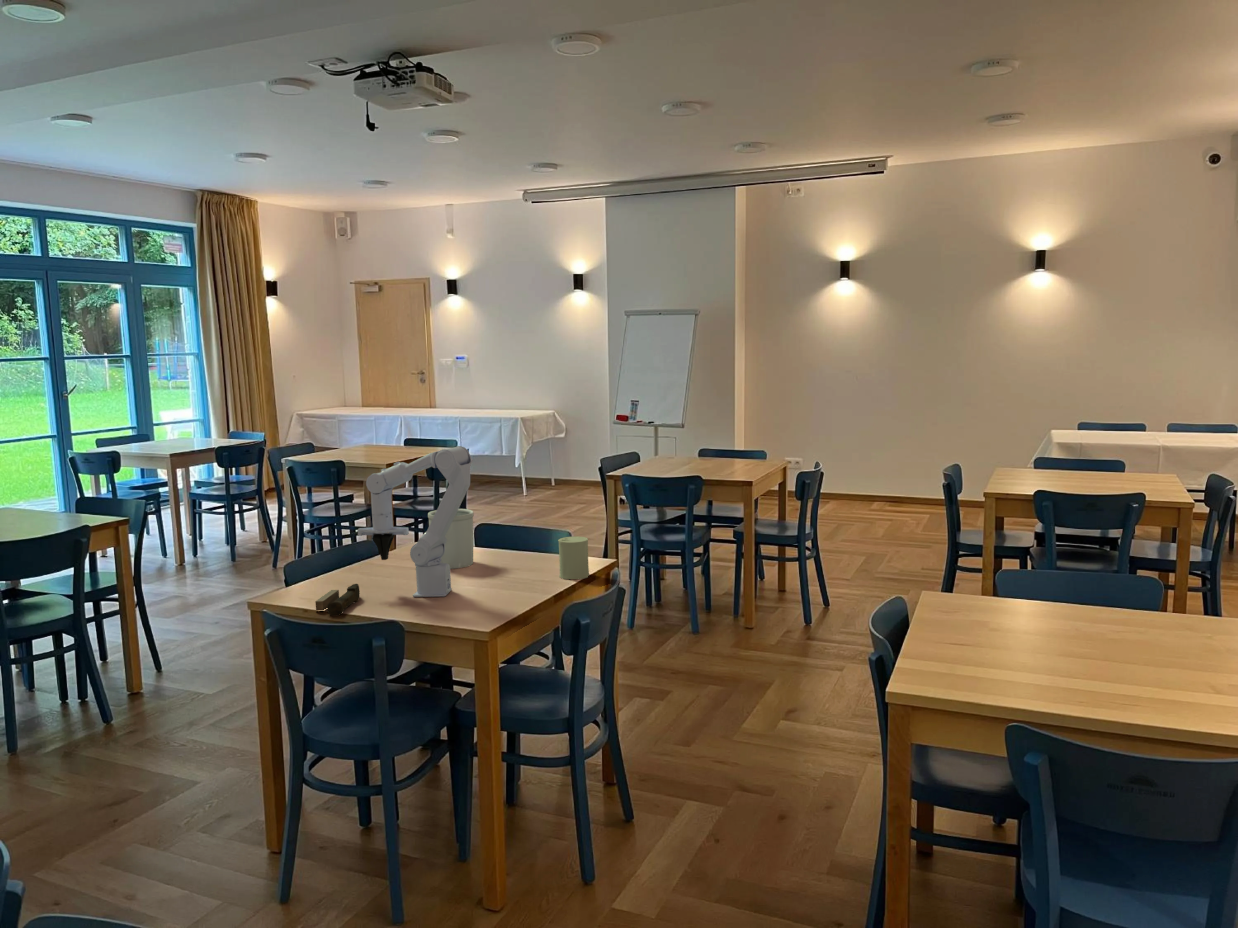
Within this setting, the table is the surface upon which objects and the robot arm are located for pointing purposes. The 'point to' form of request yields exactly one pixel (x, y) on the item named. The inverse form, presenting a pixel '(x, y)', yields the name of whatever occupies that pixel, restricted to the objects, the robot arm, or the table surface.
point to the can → (573, 557)
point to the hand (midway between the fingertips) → (384, 559)
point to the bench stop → (327, 599)
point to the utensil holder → (458, 539)
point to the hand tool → (344, 600)
